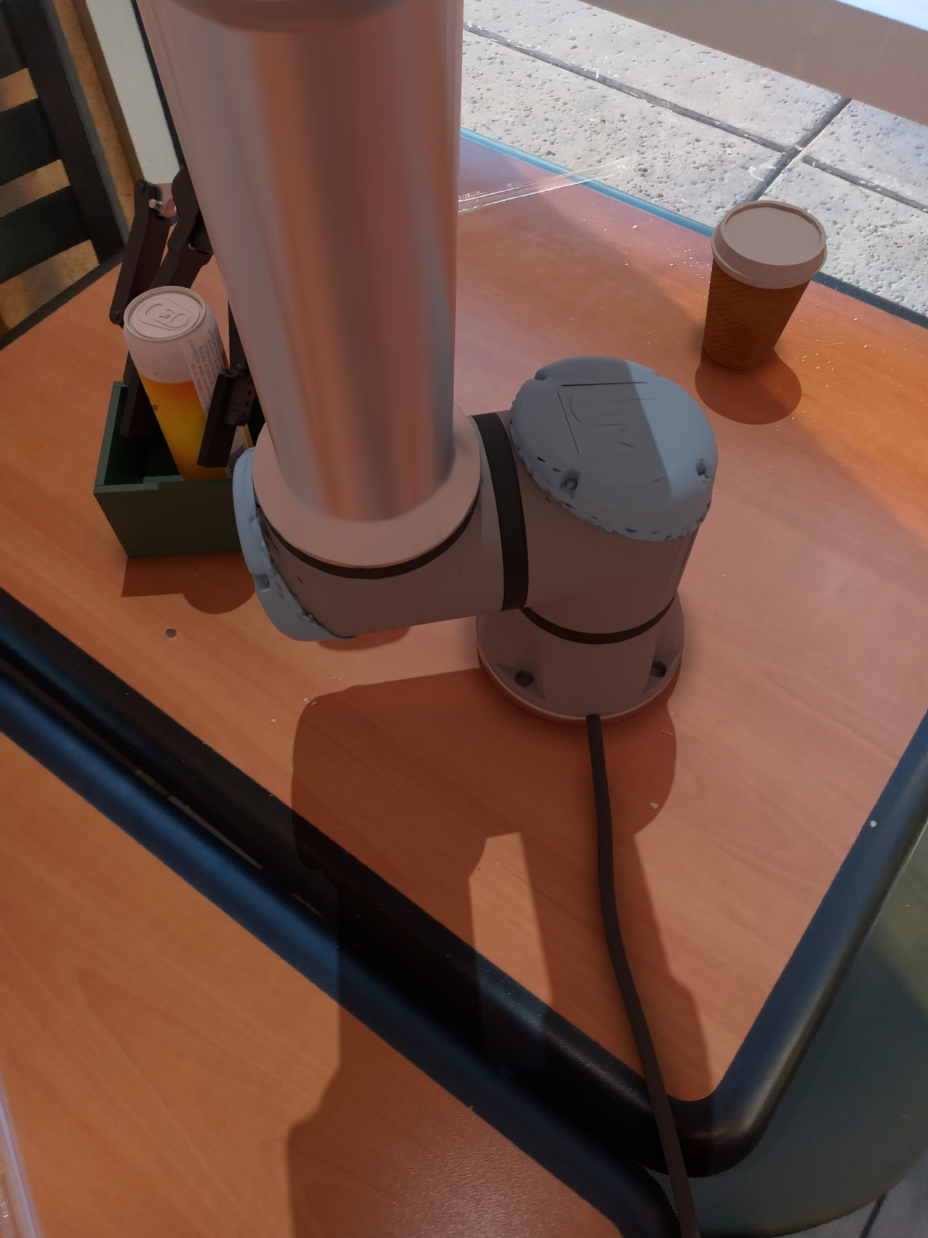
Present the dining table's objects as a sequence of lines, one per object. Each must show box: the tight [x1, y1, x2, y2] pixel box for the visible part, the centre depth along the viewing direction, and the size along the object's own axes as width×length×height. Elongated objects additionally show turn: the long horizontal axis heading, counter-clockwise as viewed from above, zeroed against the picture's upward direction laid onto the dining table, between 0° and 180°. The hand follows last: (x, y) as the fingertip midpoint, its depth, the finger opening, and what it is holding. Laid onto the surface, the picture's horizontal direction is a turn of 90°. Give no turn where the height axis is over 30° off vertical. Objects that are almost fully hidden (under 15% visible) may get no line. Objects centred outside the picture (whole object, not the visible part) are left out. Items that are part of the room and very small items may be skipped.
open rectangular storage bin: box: [92, 380, 266, 558], centre depth 72 cm, size 11×15×8 cm
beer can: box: [122, 286, 254, 481], centre depth 66 cm, size 6×6×15 cm
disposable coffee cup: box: [702, 199, 829, 370], centre depth 79 cm, size 10×10×12 cm
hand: (173, 450), depth 66 cm, fingers closed on beer can, 6 cm apart
